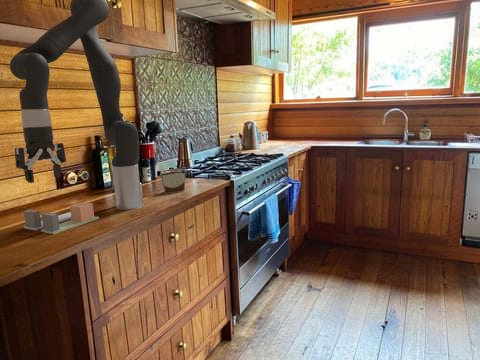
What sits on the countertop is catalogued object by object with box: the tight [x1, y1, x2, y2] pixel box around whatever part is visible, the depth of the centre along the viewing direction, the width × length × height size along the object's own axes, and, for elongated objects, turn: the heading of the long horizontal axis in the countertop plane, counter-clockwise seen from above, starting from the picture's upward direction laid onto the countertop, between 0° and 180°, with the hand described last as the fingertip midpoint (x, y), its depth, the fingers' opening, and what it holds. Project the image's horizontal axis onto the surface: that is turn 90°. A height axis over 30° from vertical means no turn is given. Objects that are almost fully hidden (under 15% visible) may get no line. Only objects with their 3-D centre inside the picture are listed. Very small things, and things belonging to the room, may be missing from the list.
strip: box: [23, 209, 72, 231], centre depth 123 cm, size 17×6×6 cm, turn 152°
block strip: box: [40, 212, 100, 235], centre depth 119 cm, size 17×6×6 cm, turn 152°
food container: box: [159, 168, 187, 195], centre depth 168 cm, size 12×6×10 cm, turn 123°
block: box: [69, 202, 95, 222], centre depth 123 cm, size 5×5×5 cm
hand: (44, 179), depth 110 cm, fingers open, 8 cm apart
